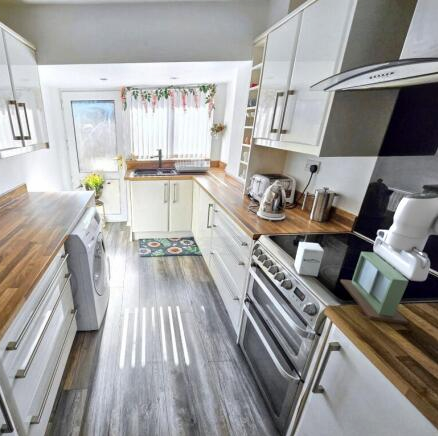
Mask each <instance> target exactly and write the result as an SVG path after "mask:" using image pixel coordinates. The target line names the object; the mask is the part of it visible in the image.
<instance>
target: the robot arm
mask: <svg viewBox="0 0 438 436" xmlns="http://www.w3.org/2000/svg"><path fill="white" fill-rule="evenodd" d="M376 235H377V236H376V238H375V241H374V243H373V247H372V248H373V249H372V250H373V253H375V254H376V255H378V256H379V257H380V258H381V259H382V260H384V261H385V262H386V263H387V264H389V265H390V266H391V267H392V268H394V269H395V270H396V271H397V272H398V273H400V274H401V275H402V276H403V277H405V278H406V279H407V280H408V281H409V280H410V281H411V282H412V281H414V282H424V281H426V280H427V278H428V275H429V272H430V267H431V261H430V258H429V256H428V254H427V253H426V252H424V251H423V250H424V248H425V246H426V243H427V242H428V239H429V237H430V236H431V235H432V236H433V235H434V236H438V193H434V192H414V193H410V194H407V195H405V196H404V197H403V198H402V199H401V200H400V202H399V204H398V206H397V208H396V210H395V213H394V215H393V223H392V225H391V226H390V227H389V229H378V230H377V232H376Z"/></svg>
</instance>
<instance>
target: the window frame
mask: <svg viewBox="0 0 438 436" xmlns="http://www.w3.org/2000/svg"><path fill="white" fill-rule="evenodd" d="M378 271H380V272H381V273H382V274H383V275H384V276H385V277H386V278H388V279H389V280H390V283H389V285H388V288H387V290H386V293H385V295H384V298H383V300H382V303H381V302H380V301H379V300H378V299H377V298H376V297H375V296H374V295H373V294H372V292H371V290H372V287H373V284H374V282H375V279H376V276H377V273H378ZM339 282H340V284H341V285H342V286H343V287H344V288H345V290H346V291H347V292H348V294H349V295H350V296H351V297H352V298H353V300H354V301H355V302H356V304H357V305H358V307H360V309H361V310H362V311H363V313H364V314H365V315H366V316H367V318H368V319H369V320H374V321H381V322H387V323H396V324H402V325H408V323H409V320H407V318H405V316H404V315H403V314H402V313H401V312H399V310H398V307H399V305H400V303H401V300H402V298H403V295H404V293H405V291H406V289H407V286H408V283H409V279H408V278H407V277H405V276H404V275H401V274H400V273H398V272H397V271H396V270H395V268H394V267H393V268H392V267H391V266H390V265H389V264H387V263H386V262H385V260H384V259H383V258H382V257H380V256H379V255H378V254H377V253H375V252H374V251H373V252H370V251H361V252H360V254H359V258H358V261H357V264H356V267H355V270H354V273H353V275H352V280H350V279H342V278H341V279H340V280H339Z"/></svg>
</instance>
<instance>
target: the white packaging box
mask: <svg viewBox="0 0 438 436" xmlns="http://www.w3.org/2000/svg"><path fill="white" fill-rule="evenodd" d="M324 252H325V250H324V249H323V247H322V246H321V245H320V244H319V243H317V242H307V241H305V242H304V241H299V242H298V247H297V251H296V255H295V260H294V264H293V265H294V269H295V270H296V272H297V275H303V276H304V275H306V276H310V277H311V276H313V277H318V275H319V272H320V268H321V264H322V259H323V257H324Z"/></svg>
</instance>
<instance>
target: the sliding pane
mask: <svg viewBox="0 0 438 436" xmlns="http://www.w3.org/2000/svg"><path fill="white" fill-rule="evenodd" d="M389 283H390V280H389V279H388V278H386V277H385V276H384V275H383V274H382V273H381V272H380V271H378V273H377V276H376V279H375V282H374V284H373V287H372V290H371V292H372V294H373V295H374V296H375V297H376V298H377V299H378V300H379V301H380V302H381V303H382V300H383V298H384V295H385V293H386V290H387V288H388V285H389Z"/></svg>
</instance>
